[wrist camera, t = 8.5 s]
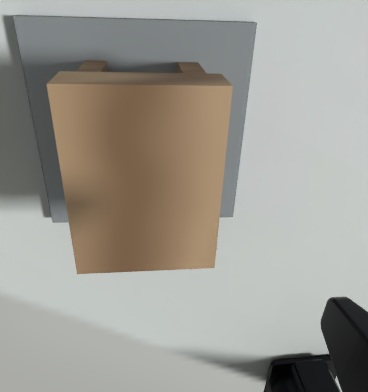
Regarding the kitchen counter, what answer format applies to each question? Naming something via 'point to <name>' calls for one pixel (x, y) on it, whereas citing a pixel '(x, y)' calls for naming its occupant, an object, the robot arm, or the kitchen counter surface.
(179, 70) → the stool
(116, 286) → the kitchen counter surface
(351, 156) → the kitchen counter surface
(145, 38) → the gray panel
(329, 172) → the kitchen counter surface
